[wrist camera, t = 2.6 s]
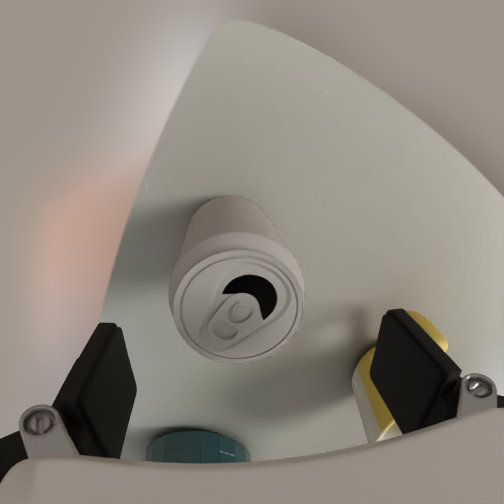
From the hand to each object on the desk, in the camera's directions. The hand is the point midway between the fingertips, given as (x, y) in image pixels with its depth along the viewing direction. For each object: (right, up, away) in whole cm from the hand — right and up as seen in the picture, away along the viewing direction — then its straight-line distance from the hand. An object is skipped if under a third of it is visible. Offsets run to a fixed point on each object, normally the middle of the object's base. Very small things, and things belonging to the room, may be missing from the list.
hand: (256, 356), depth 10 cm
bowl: (-7, -22, +23) cm, 32 cm away
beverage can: (-2, +5, +14) cm, 15 cm away
